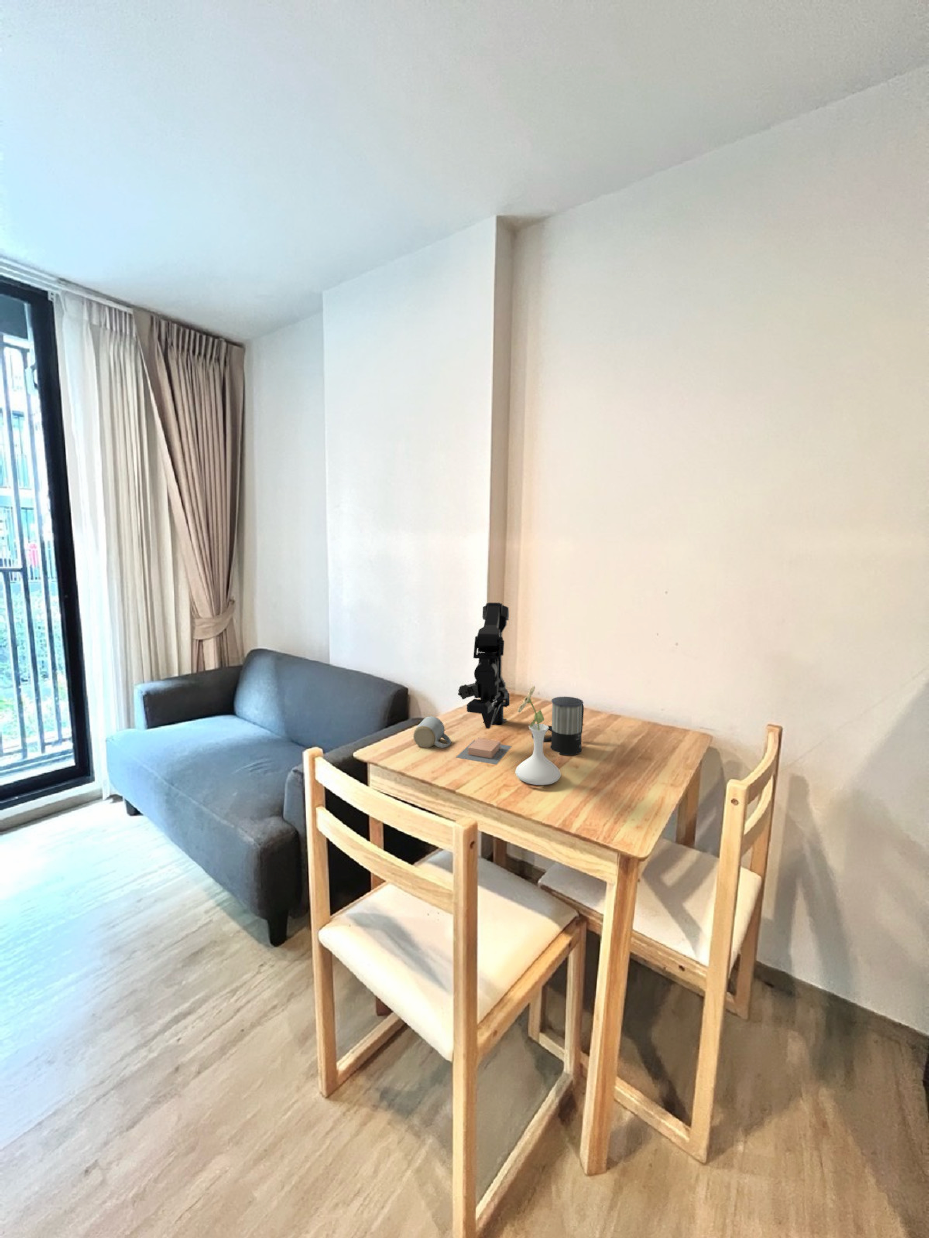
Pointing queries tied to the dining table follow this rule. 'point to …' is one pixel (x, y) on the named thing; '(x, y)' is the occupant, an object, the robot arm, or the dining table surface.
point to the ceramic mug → (430, 733)
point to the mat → (493, 760)
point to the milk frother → (566, 725)
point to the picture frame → (484, 747)
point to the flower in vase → (537, 753)
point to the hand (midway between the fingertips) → (488, 728)
